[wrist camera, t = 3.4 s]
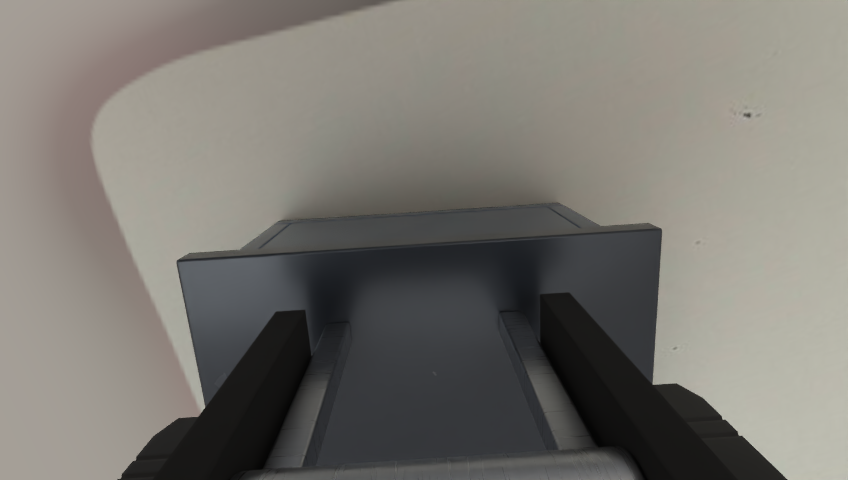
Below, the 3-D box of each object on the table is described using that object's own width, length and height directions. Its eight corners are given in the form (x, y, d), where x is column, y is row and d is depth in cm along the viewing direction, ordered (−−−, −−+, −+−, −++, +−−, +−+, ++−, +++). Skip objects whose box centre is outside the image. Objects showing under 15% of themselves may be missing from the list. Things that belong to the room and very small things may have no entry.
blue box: (278, 220, 23) (194, 281, 14) (559, 202, 23) (647, 251, 14) (323, 541, 27) (282, 733, 19) (557, 526, 27) (621, 710, 19)
